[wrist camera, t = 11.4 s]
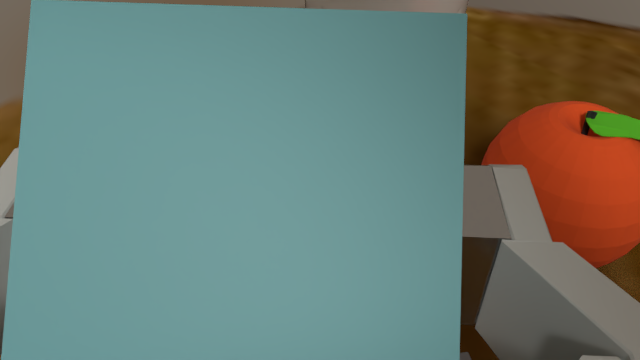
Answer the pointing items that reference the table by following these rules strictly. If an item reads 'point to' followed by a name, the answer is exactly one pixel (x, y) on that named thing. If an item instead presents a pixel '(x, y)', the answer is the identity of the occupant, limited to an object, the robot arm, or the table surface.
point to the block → (238, 184)
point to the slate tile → (465, 356)
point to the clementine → (579, 174)
